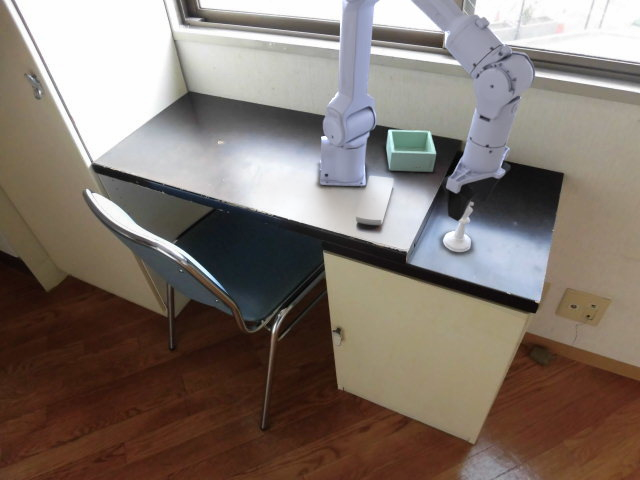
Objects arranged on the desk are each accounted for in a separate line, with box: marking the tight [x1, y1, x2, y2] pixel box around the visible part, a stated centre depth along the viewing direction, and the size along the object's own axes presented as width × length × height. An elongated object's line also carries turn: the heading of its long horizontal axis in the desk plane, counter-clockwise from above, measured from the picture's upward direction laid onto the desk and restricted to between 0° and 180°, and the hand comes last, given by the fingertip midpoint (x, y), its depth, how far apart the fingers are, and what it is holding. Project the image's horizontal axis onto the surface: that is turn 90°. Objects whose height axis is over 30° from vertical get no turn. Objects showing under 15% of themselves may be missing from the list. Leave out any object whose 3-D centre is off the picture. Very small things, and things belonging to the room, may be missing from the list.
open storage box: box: [385, 129, 437, 173], centre depth 105 cm, size 9×9×5 cm
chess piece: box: [442, 200, 475, 253], centre depth 83 cm, size 5×5×10 cm
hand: (467, 207), depth 81 cm, fingers open, 7 cm apart
